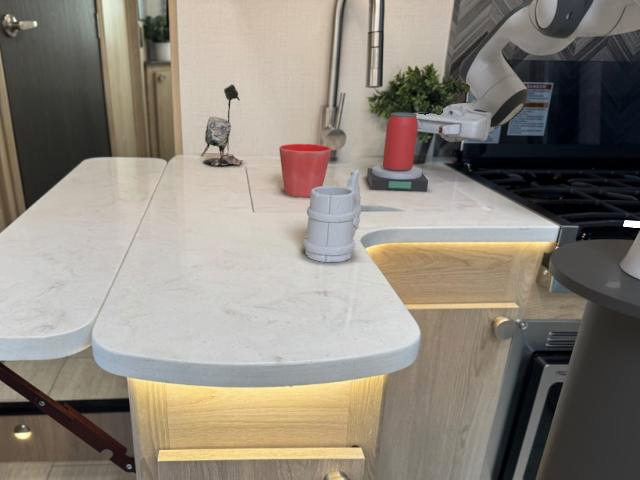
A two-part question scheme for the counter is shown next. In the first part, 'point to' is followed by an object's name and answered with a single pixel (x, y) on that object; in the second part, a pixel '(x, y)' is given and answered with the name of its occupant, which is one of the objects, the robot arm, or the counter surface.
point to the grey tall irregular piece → (221, 132)
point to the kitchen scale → (396, 179)
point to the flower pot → (303, 167)
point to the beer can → (400, 141)
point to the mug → (333, 221)
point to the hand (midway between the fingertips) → (423, 127)
